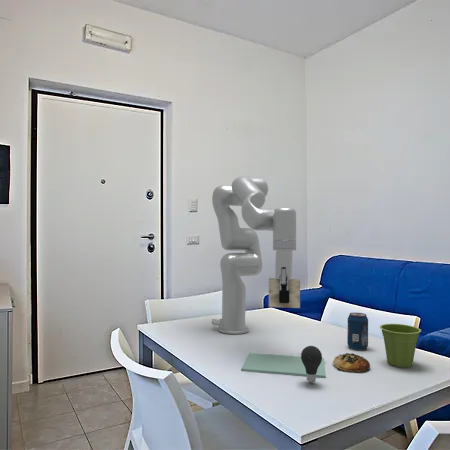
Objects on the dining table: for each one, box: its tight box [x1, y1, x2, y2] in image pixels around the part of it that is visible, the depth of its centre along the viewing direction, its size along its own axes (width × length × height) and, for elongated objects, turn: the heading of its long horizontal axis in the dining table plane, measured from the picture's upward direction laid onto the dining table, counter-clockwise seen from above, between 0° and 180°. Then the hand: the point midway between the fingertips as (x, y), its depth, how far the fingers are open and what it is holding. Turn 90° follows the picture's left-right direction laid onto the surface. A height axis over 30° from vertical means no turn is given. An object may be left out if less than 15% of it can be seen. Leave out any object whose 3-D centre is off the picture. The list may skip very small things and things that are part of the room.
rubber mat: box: [240, 352, 327, 379], centre depth 125 cm, size 24×16×1 cm, turn 78°
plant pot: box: [379, 323, 422, 368], centre depth 128 cm, size 12×12×11 cm
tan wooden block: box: [268, 277, 301, 309], centre depth 134 cm, size 10×2×9 cm, turn 79°
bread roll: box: [332, 352, 371, 373], centre depth 125 cm, size 11×11×5 cm
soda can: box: [347, 312, 369, 351], centre depth 145 cm, size 7×7×12 cm
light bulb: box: [300, 345, 323, 385], centre depth 111 cm, size 6×6×10 cm
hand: (284, 301), depth 134 cm, fingers closed on tan wooden block, 2 cm apart
